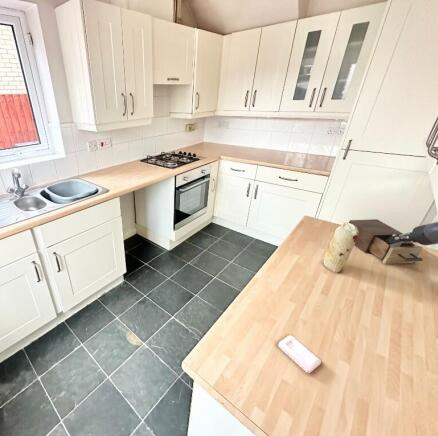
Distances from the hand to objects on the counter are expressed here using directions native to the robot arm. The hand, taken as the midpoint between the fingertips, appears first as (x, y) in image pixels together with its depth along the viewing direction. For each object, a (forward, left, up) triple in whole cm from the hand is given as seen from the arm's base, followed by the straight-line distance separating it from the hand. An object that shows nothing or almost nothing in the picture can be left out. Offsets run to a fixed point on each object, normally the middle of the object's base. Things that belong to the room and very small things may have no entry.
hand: (389, 242), depth 104 cm
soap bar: (+55, +54, -7) cm, 77 cm away
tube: (0, +2, -4) cm, 4 cm away
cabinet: (+1, -8, -7) cm, 11 cm away
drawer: (-1, +3, -6) cm, 7 cm away
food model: (+26, +12, -7) cm, 30 cm away
